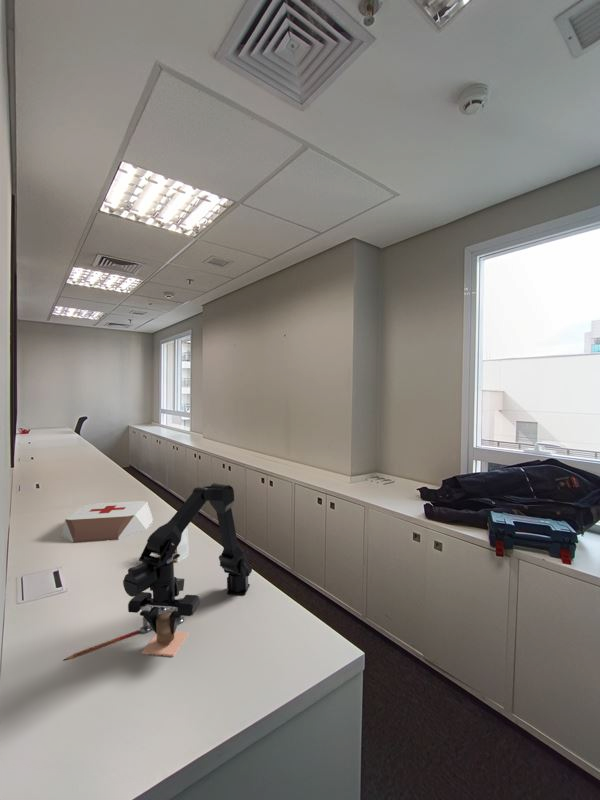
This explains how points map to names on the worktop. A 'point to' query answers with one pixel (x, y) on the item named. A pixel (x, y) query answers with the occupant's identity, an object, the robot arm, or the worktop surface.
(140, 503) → the first aid kit
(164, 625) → the wooden dowel cylinder
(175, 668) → the worktop surface
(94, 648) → the pencil
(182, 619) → the dark grey bent piece
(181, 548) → the small box
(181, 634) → the terracotta mat
